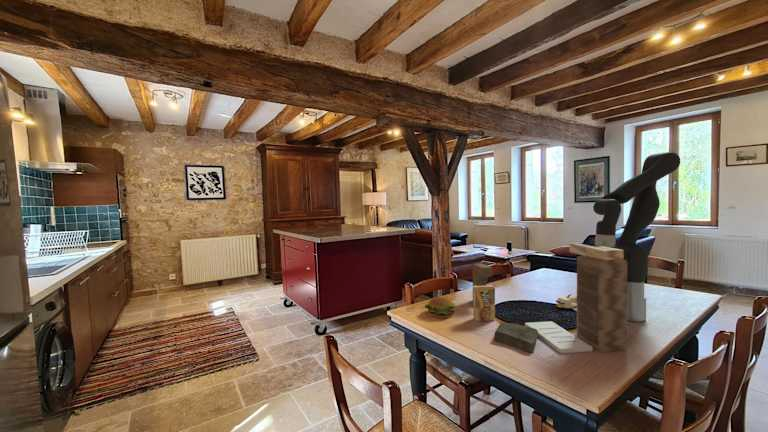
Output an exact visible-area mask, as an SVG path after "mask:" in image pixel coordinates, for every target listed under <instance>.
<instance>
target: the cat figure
mask: <svg viewBox="0 0 768 432" xmlns="http://www.w3.org/2000/svg"><path fill="white" fill-rule="evenodd" d="M571 295H573V294H572V293H571V294H568V295H566V296H565V297H564V296H558V298H557V299H556V300H555V302H556V303H555V305H556V306H557V307H558V308H561V309H562V308H564V309H571V308H574V307H575V305H577V295H574V296H571Z"/></svg>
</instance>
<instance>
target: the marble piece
mask: <svg viewBox="0 0 768 432" xmlns="http://www.w3.org/2000/svg"><path fill="white" fill-rule="evenodd" d="M493 334H494V337H493V338H494V339H495V340H496V341H497V342H498V343H501V344H503V345H506V346H508V347H513V348H515V349H518V350H520V351H523V352H526V353H530V354H532V353H533V354H534V351H535V348H536V345H537V344H536V343H537V340H538V331H537V329H534V328H530V327H527V326H525V325H523V324H522V325H521V324H518V323H509V322H500V323H499V325H498V326H497V328H496V329H495V331H494V333H493Z"/></svg>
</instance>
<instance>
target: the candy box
mask: <svg viewBox="0 0 768 432" xmlns="http://www.w3.org/2000/svg"><path fill="white" fill-rule="evenodd" d="M495 293H496V287H495V286H494V285H490V284H489V285H488V284H487V285H482V286H473V285H472V309H473V312H472V313H473V314H472V316H473V317H472V318H473V319H474V321H475V322H484V321H487V322H488V321H496V301H495V300H496V297H495V296H496V295H495Z"/></svg>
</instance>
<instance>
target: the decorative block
mask: <svg viewBox="0 0 768 432" xmlns="http://www.w3.org/2000/svg"><path fill="white" fill-rule="evenodd" d="M491 277H493V267H492V266H489V265H487V264H484V263H473V264H472V287H473V286H482V285H488V284H487V282H488V279H489V278H491Z"/></svg>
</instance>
